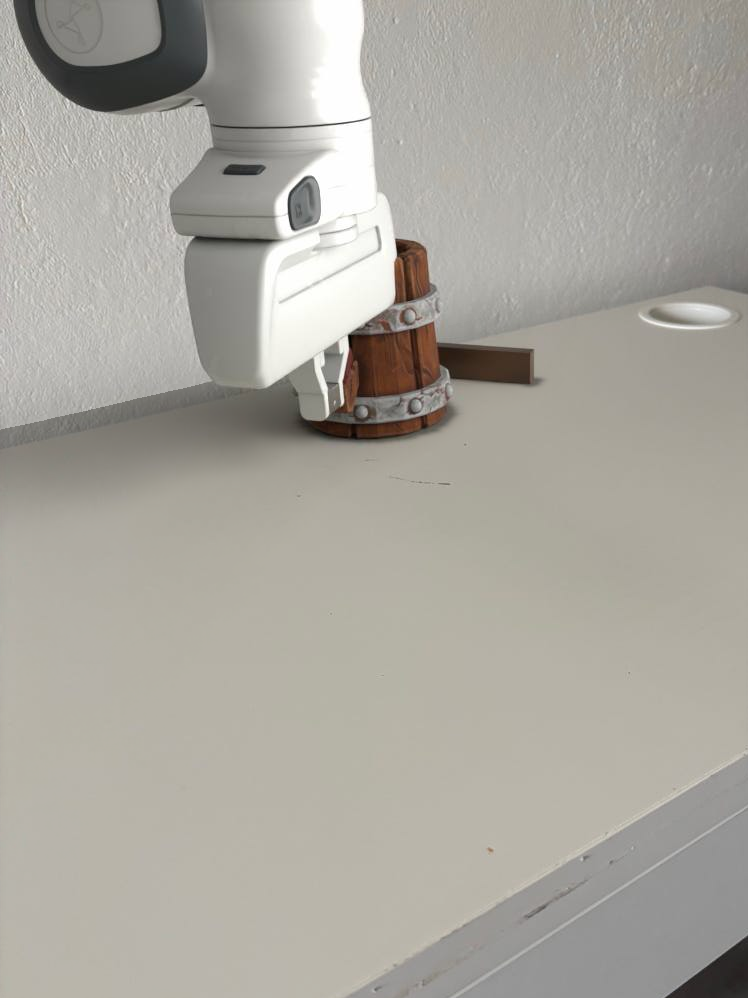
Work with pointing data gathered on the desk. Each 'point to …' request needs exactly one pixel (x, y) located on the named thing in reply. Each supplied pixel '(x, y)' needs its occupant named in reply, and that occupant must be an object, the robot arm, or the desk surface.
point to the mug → (395, 360)
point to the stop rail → (487, 362)
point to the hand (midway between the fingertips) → (323, 413)
